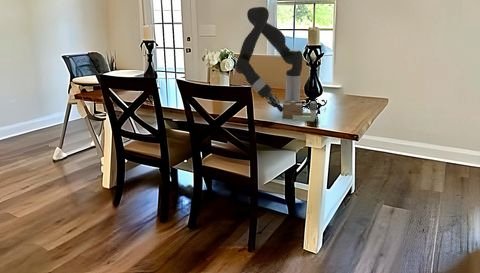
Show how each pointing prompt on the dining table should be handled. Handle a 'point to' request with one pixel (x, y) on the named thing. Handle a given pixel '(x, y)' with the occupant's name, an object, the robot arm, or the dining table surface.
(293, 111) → the slider block
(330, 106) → the dining table surface
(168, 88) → the dining table surface
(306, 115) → the mount
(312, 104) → the knob
